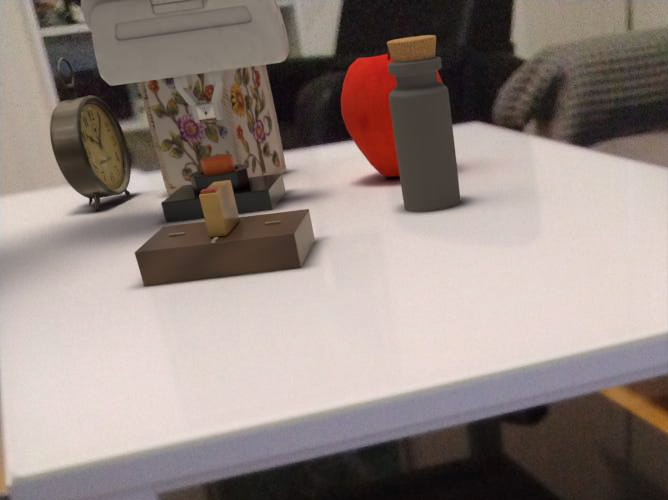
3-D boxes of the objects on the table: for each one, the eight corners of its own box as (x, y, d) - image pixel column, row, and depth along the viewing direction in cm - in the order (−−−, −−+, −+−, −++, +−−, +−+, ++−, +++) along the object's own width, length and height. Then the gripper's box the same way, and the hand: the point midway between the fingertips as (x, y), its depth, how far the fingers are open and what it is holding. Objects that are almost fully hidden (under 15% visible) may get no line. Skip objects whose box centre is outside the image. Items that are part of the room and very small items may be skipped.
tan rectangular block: (223, 222, 94) (212, 179, 92) (239, 220, 94) (230, 176, 92) (209, 237, 89) (197, 192, 87) (227, 235, 89) (216, 189, 87)
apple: (349, 193, 116) (327, 59, 109) (358, 174, 126) (338, 50, 118) (453, 180, 116) (437, 44, 108) (453, 162, 125) (439, 37, 118)
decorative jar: (165, 197, 127) (121, 31, 117) (211, 177, 136) (174, 21, 126) (249, 192, 124) (211, 20, 114) (291, 172, 133) (259, 11, 123)
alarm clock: (105, 213, 123) (59, 59, 114) (65, 217, 124) (16, 65, 115) (143, 194, 132) (104, 50, 122) (105, 197, 133) (63, 55, 124)
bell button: (201, 178, 113) (197, 161, 112) (207, 173, 116) (203, 156, 115) (232, 175, 113) (229, 157, 112) (238, 169, 116) (235, 152, 115)
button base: (166, 223, 113) (156, 185, 111) (186, 205, 121) (177, 169, 119) (272, 210, 112) (264, 171, 110) (286, 193, 121) (278, 156, 118)
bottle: (395, 214, 103) (370, 44, 95) (417, 201, 108) (395, 37, 100) (449, 212, 102) (429, 38, 93) (468, 198, 106) (450, 32, 98)
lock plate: (144, 287, 89) (133, 250, 88) (171, 259, 98) (162, 224, 96) (301, 269, 89) (293, 231, 87) (315, 241, 97) (308, 206, 95)
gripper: (65, -14, 102) (109, 137, 110) (265, -43, 101) (295, 112, 109) (84, -16, 107) (125, 129, 115) (275, -44, 106) (303, 104, 114)
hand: (209, 120), depth 112 cm, fingers closed
